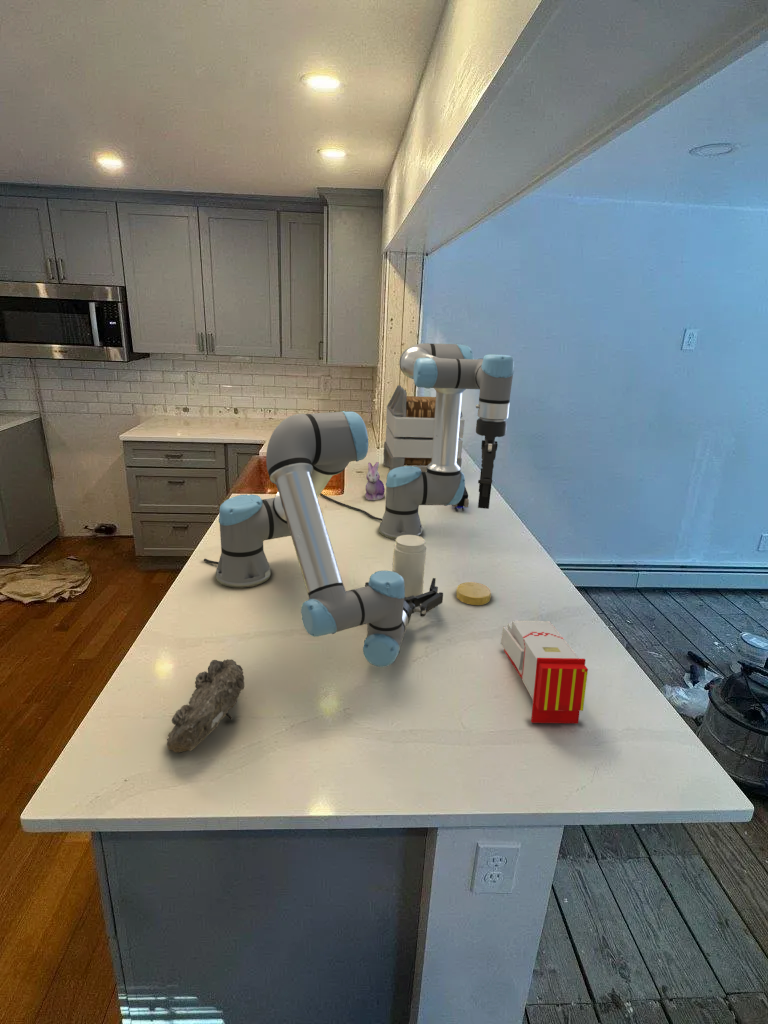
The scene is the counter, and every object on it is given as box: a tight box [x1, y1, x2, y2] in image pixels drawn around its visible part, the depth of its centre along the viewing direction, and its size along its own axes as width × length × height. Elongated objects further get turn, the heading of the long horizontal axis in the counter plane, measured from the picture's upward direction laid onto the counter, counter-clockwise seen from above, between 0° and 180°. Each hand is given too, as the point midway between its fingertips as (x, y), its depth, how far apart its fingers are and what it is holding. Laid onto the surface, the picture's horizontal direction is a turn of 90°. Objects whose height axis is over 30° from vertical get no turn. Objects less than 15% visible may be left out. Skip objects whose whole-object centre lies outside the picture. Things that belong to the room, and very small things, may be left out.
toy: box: [500, 620, 589, 724], centre depth 121 cm, size 12×13×30 cm
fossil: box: [166, 658, 245, 754], centre depth 106 cm, size 22×10×15 cm
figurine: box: [364, 461, 386, 501], centre depth 234 cm, size 9×10×15 cm
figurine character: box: [451, 486, 470, 512], centre depth 229 cm, size 7×8×15 cm
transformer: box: [383, 384, 465, 472], centre depth 268 cm, size 34×33×41 cm
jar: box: [392, 535, 427, 597], centre depth 152 cm, size 9×9×18 cm
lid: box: [455, 581, 492, 606], centre depth 158 cm, size 9×10×2 cm
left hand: (408, 579), depth 152 cm, fingers open, 13 cm apart
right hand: (483, 499), depth 149 cm, fingers open, 13 cm apart
